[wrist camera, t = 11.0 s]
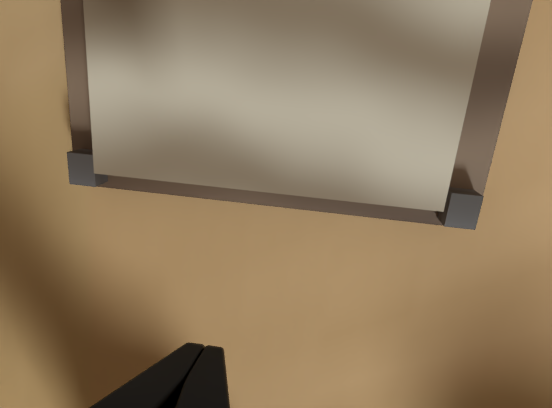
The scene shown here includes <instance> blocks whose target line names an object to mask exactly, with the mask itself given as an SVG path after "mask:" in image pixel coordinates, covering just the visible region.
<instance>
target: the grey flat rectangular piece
mask: <svg viewBox="0 0 552 408" xmlns="http://www.w3.org/2000/svg"><path fill="white" fill-rule="evenodd" d="M490 2H491V0H83V8H84V23H85V39H86V55H87V70H88V86H89V102H90V117H91V133H92V149H93V164H94V173H95V174H104V175H113V176H122V177H131V178H140V179H149V180H158V181H167V182H176V183H185V184H195V185H204V186H213V187H222V188H231V189H240V190H249V191H258V192H267V193H276V194H285V195H295V196H304V197H313V198H322V199H331V200H340V201H349V202H358V203H367V204H376V205H386V206H395V207H404V208H413V209H422V210H431V211H440V212H444V207H445V203H446V198H447V194H448V189H449V185H450V181H451V176H452V172H453V167H454V163H455V158H456V154H457V149H458V145H459V140H460V136H461V131H462V127H463V123H464V118H465V114H466V109H467V105H468V100H469V96H470V91H471V87H472V82H473V78H474V74H475V69H476V65H477V60H478V56H479V51H480V47H481V42H482V38H483V33H484V29H485V24H486V20H487V16H488V11H489V7H490Z"/></svg>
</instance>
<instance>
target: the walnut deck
mask: <svg viewBox="0 0 552 408" xmlns="http://www.w3.org/2000/svg"><path fill="white" fill-rule="evenodd" d="M532 1H533V0H491V2H490V7H489V11H488V16H487V20H486V24H485V29H484V33H483V38H482V42H481V47H480V51H479V56H478V60H477V65H476V69H475V74H474V78H473V82H472V87H471V91H470V96H469V100H468V105H467V109H466V114H465V118H464V123H463V127H462V131H461V136H460V140H459V145H458V149H457V154H456V158H455V163H454V167H453V172H452V176H451V181H450V185H449V189H448V194H447V198H446V203H445V207H444V212H440V211H431V210H422V209H413V208H404V207H395V206H386V205H376V204H367V203H358V202H349V201H340V200H331V199H322V198H313V197H304V196H295V195H285V194H276V193H267V192H258V191H249V190H240V189H231V188H222V187H213V186H204V185H195V184H185V183H176V182H167V181H158V180H149V179H140V178H131V177H122V176H113V175H104V174H95V173H94V164H93V149H92V133H91V117H90V102H89V86H88V70H87V55H86V39H85V23H84V8H83V0H61V12H62V24H63V36H64V49H65V61H66V73H67V86H68V98H69V110H70V122H71V135H72V147H73V151H70V152H67V159H68V170H69V182H70V184H75V185H84V186H92V187H96V186H98V187H107V188H116V189H124V190H133V191H142V192H151V193H160V194H169V195H178V196H186V197H195V198H204V199H213V200H222V201H231V202H240V203H248V204H257V205H266V206H275V207H284V208H293V209H301V210H310V211H319V212H328V213H337V214H346V215H355V216H363V217H372V218H381V219H390V220H399V221H408V222H417V223H425V224H434V225H443V226H446V227H455V228H464V229H473V230H475V228H476V224H477V220H478V217H479V213H480V209H481V205H482V201H483V197H484V196H483V193H484V189H485V185H486V181H487V177H488V174H489V170H490V166H491V162H492V158H493V154H494V150H495V146H496V142H497V138H498V134H499V130H500V126H501V123H502V119H503V115H504V111H505V107H506V103H507V99H508V95H509V91H510V87H511V83H512V79H513V75H514V72H515V68H516V64H517V60H518V56H519V52H520V48H521V44H522V40H523V36H524V32H525V28H526V24H527V21H528V17H529V13H530V9H531V5H532Z"/></svg>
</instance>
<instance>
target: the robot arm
mask: <svg viewBox="0 0 552 408" xmlns="http://www.w3.org/2000/svg"><path fill="white" fill-rule="evenodd" d="M90 408H230V404H229V394H228V385H227V375H226V366H225V357H224V349H223V348H222V347H217V346H210V345H208V346H206V347H205V346H204V345H203V344H196V343H186V344H184V345H183V346H181V347H180V348H178V349H177V350H175V351H174V352H172V353H171V354H169V355H168V356H166V357H165V358H163V359H162V360H160V361H159V362H157V363H156V364H154V365H153V366H151V367H150V368H148V369H147V370H145V371H144V372H142V373H141V374H139V375H138V376H136V377H135V378H133V379H132V380H130V381H129V382H127V383H126V384H124V385H123V386H121V387H120V388H118V389H117V390H115V391H114V392H112V393H111V394H109V395H108V396H106V397H105V398H103V399H102V400H100V401H99V402H97V403H96V404H94V405H93V406H91V407H90Z"/></svg>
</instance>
